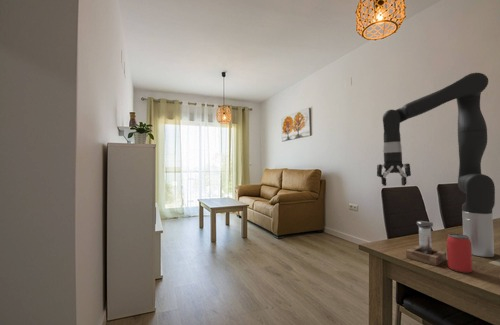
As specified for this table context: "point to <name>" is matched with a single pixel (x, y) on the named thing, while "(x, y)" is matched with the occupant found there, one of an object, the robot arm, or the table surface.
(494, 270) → the table surface
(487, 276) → the table surface
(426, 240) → the pin
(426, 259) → the socket block
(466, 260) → the beer can
